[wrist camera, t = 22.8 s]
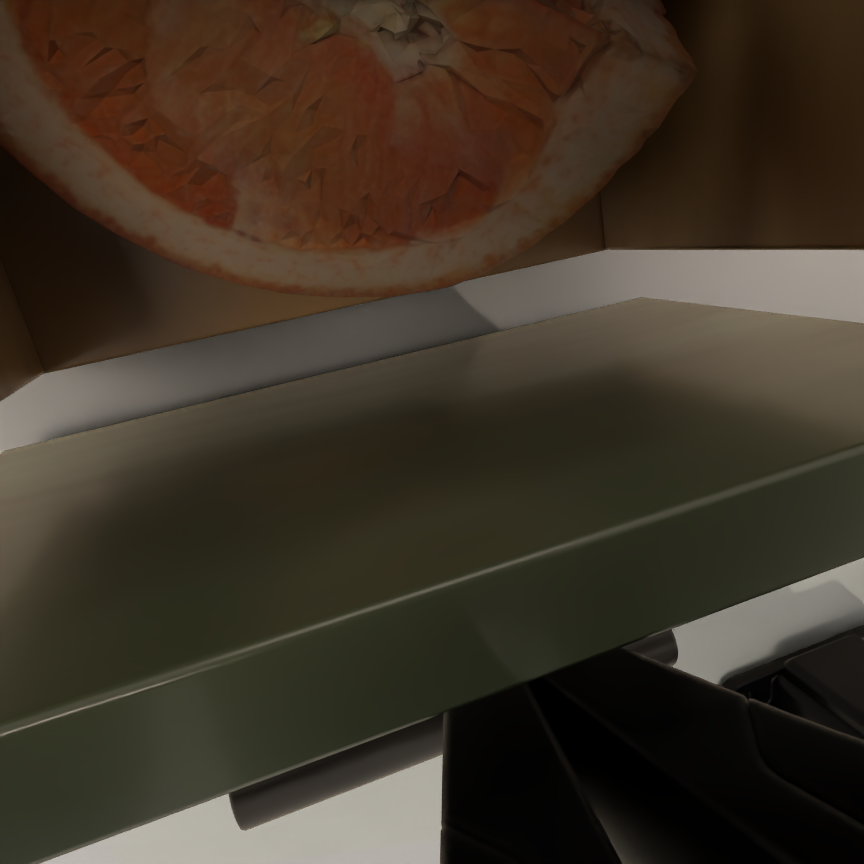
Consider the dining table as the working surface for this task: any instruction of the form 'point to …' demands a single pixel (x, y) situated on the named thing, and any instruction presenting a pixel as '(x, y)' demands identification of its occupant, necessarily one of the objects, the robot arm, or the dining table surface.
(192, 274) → the drawer
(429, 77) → the fruit slice
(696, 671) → the dining table surface
